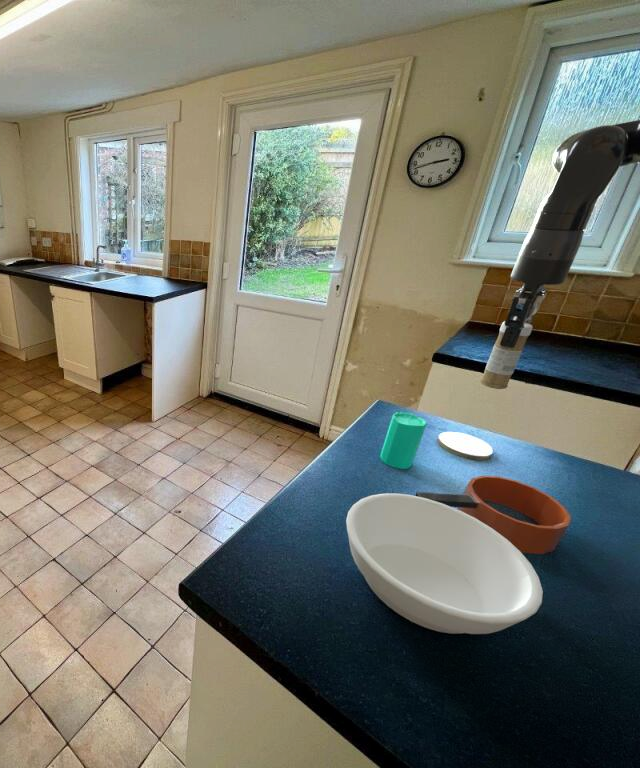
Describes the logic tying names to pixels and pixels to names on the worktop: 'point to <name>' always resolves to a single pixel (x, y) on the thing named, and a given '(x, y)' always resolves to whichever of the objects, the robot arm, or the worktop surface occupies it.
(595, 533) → the worktop surface
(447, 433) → the disc
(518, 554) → the bowl
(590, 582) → the worktop surface
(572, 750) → the worktop surface
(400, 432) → the candle
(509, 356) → the sprinkles bottle
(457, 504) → the pan
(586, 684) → the worktop surface
